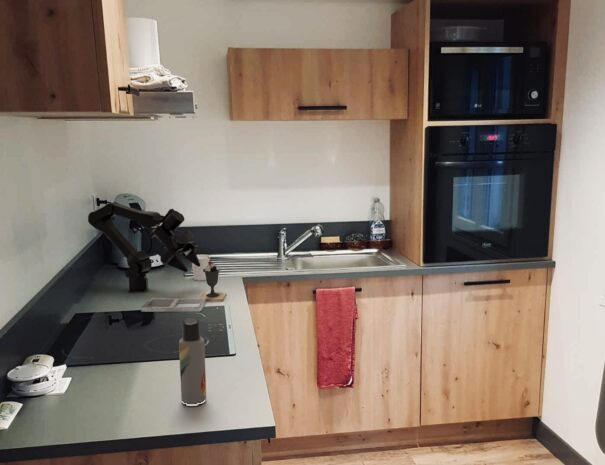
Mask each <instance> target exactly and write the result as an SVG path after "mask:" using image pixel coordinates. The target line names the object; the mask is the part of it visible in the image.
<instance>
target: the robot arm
mask: <svg viewBox="0 0 605 465" xmlns="http://www.w3.org/2000/svg"><path fill="white" fill-rule="evenodd" d="M115 215H117V216H119V217H123V218H125V219H129V220H132V221H134V222H137V224H138V225H139V226H140V227H141V226H142V227H143V228H145V229H147V230H148V229H151V228H152V230H150V231H149V232H150V234H149V238H150V239H152V238H155V237H156V239H158V240H159V242H160V243H161V244H162V245H161V248H162V249H165V251H164V252H163V254H162V255H161V256H160V262H161V264H163V265H166V266H170V267H172V268H174V269H177V270H180V271H182V272H183V273H188V271H189V269H188V268H187V266H186V265H185V264H184V262H183V261H182V259H181V257H180V255H182V256H183V257H184V259H186V260H188V261H189V262H190V263H191V264H192V263H193V264H195V265H196V266H198V267H199V266H200V262H199V260H198V258H197V255H198V254H197V248H198V244H197V242H196V241H194V233H193V232H192V231H191V230H186V231H184V234H181V235H178V234H175V233H173V232H175V231H176V230H177V229H178V228H179V227H180V226H181V225H182V223H183V222H185V217H184V215H183V214H182V213H180V212H179V211H177V210H175V209H174V208H170V209H168V211H167V212H166V214H164V215H162V214H160V212H158V211H150V210H140V209H136V208H133V207H131V206H128V205H124V204H121V203H119V202H117V201H113V202H108V203H107V204H105V205H104V206H102V207H100V208H98V209H96V210H95V211H90V213H88V215H87V216H88V217H87V222H88V223H89V225H90V226H92V228H94V229H95V230H98V231H100V232H102V233H104V235H105V236H106V237H107V238H108V239H109V240H110V241H111V242H112V244H113V245H114V246H115V247H116V248H117V250H119V251H120V253H121V254H122V255H123V257H125V259H126V263H127V266H128V268H126V270H125V271H124V274H125V277H126V278H128V282H129V283H128V288H129V289H128V291H127V292H128V293H145V292H146V291H147V290H148V289H149V278H148V277H147V276H148V275H147V274H149V273H150V270H151V268H152V266H153V265H152V263H153V262H152V260H151V256H149V255H148V253H147V252H146V251H145V250H140V251H139V250H137V249H136V248H135V247H134V246H133V245H132V244H131V243H130V241H129V240H127V238H126V237H125V236H124V235H123V234H122V233H121V231H120V230H118V228H117V227H116V226H115V225H114V219H113V217H114V216H115ZM153 228H154V229H153Z"/></svg>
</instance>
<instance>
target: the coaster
mask: <svg viewBox="0 0 605 465" xmlns="http://www.w3.org/2000/svg"><path fill="white" fill-rule="evenodd" d="M210 292H211V291H209V292H207V291H206V292H202V293H201V295H200V297H199V298H198V299H206V303H207V302H208V303H209V302H212V303H213V302H214V303H215V302H216V303H217V302H220V303H221V302H224V300H225V298H226V297H227V292H226V291H223V292H222V291H221V292H218V291H217V292H216V291H214V292H215V293H217V294H219V296H217V297H207V296H206V295H207V294H210Z"/></svg>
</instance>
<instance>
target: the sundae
mask: <svg viewBox="0 0 605 465" xmlns="http://www.w3.org/2000/svg"><path fill="white" fill-rule="evenodd" d="M208 258H209V257H208ZM209 259H210V261H209V262H208V265H207V266H206V269H203V272H205V276H206V280H205V281H206V284H207V285H208V286H209V287H210V291H209V292H210V294H207V295H206V296H207V297H217V296H219V294H217V293H215V292H216V291H215V286H216V285H217V284H218V281H219V274H220V271H221V268H219V267H217V266H216V264H215V263H214V262H212V261H211V257H210V258H209Z"/></svg>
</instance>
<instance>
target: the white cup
mask: <svg viewBox="0 0 605 465" xmlns="http://www.w3.org/2000/svg"><path fill="white" fill-rule="evenodd" d="M196 255H197V258H198V260H199V262H200V266H199V267H198V266H196V265H195V264H193V263H192V262H191V266H192V275H193V276H192V278H193V280H194V281H199V282H200V281H206V276H205V272H203V269H206V266H207V265H208V262H209V261H211V255H208V254H196ZM208 257H209V258H210V259H209V258H208Z"/></svg>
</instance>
